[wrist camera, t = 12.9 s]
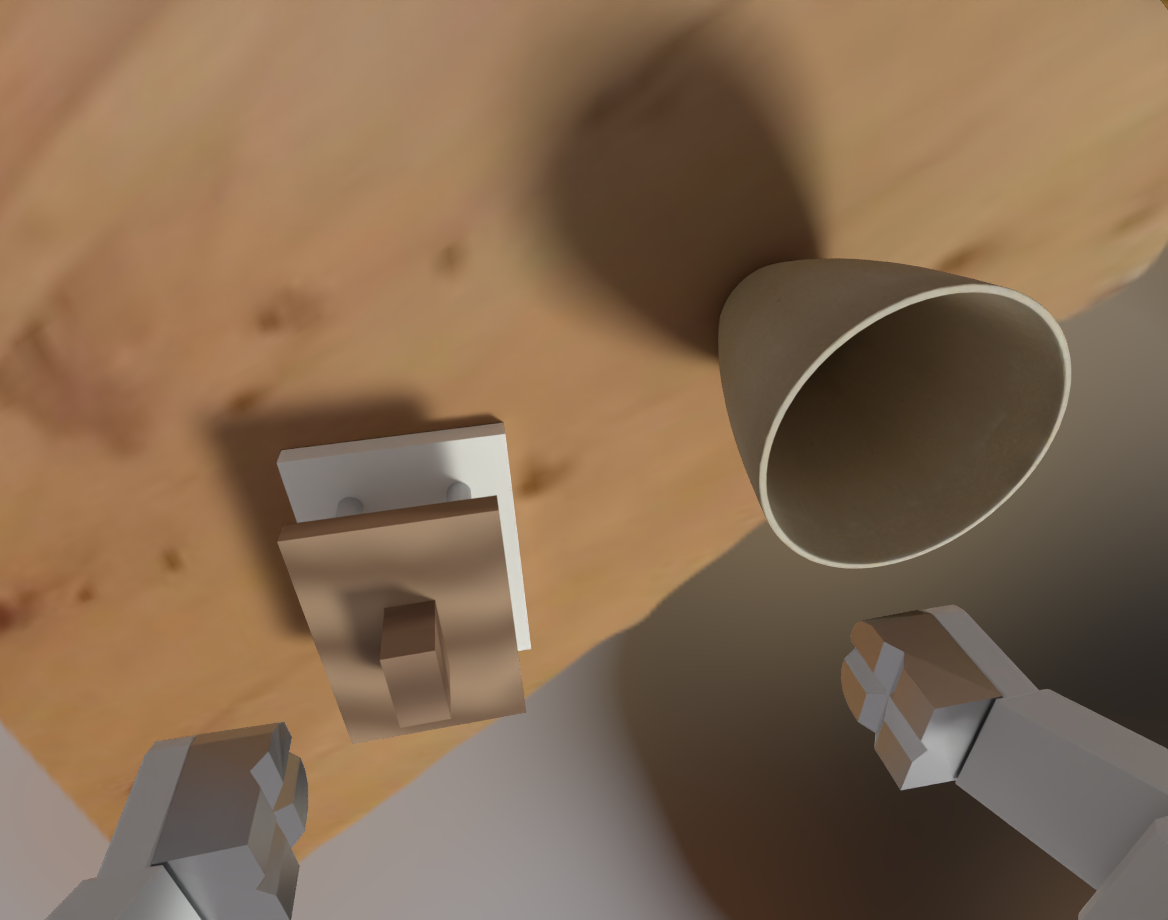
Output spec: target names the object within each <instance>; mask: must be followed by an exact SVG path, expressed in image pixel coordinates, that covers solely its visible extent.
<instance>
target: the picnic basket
mask: <svg viewBox="0 0 1168 920" xmlns="http://www.w3.org/2000/svg"><path fill="white" fill-rule="evenodd" d="M1161 1H1162V3H1163V4H1164V5H1165V7H1166V8H1167V9H1168V0H1161Z"/></svg>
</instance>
